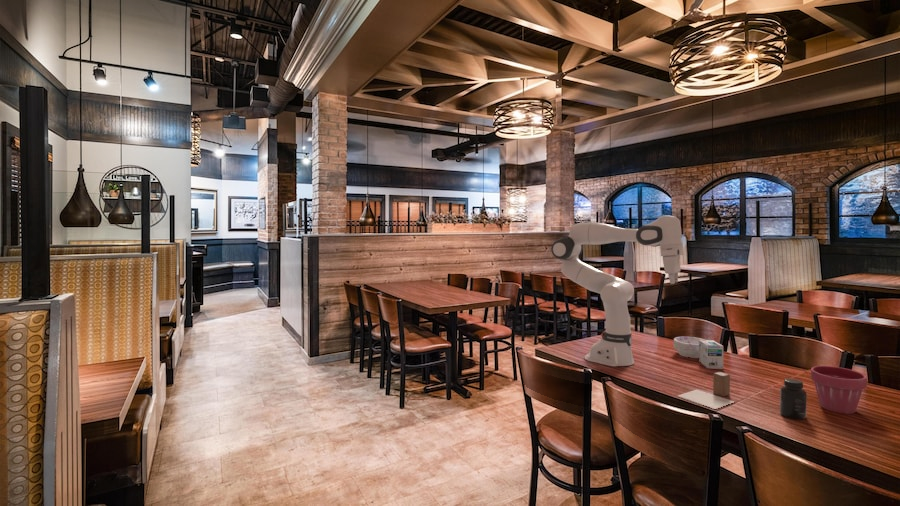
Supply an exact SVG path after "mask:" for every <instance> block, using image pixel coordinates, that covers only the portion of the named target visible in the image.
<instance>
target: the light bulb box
mask: <svg viewBox="0 0 900 506" xmlns="http://www.w3.org/2000/svg"><path fill="white" fill-rule="evenodd" d="M698 359H699V361H698V362H699V363H700V362H701V363H700V364H702V365H703V366H704V367H705V368H706V369H710V370H711V369H713V370H714V369H715V370H724V345H722V344H721V343H719V342H717V341H715V339H714V340H713V339H712V340H711V339H704V340H699V358H698Z"/></svg>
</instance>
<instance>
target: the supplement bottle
mask: <svg viewBox="0 0 900 506" xmlns="http://www.w3.org/2000/svg"><path fill="white" fill-rule="evenodd" d="M783 381H784V383H783V385H784V386H782V387H780V391H779V393H780V395H779V403H780V404H779V412H780V414H781V415H782V416H784V417H785V418H788V419H791V420H796V419H797V420H798V421H802V420H805V419H806V418H807V400H808V399H807V397H808V396H807V391H805V390H804V382H803V381H802V380H800V379H796V378H784V379H783Z"/></svg>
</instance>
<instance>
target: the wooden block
mask: <svg viewBox="0 0 900 506" xmlns="http://www.w3.org/2000/svg"><path fill="white" fill-rule="evenodd" d="M712 375H713V376H712V377H713V378H712V379H713V380H712V382H713V385H712V386H713V387H712V389H713V393H712V394H713V395H716V396H719V397H722V398H724V397H727V395H728V396H730V390H731V389H730V388H731V387H730V386H731V383H730V382H731V380H730V379H731V375H730V374H729V373H725V372H722V371H718V372H714V373H713V374H712Z"/></svg>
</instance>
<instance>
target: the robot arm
mask: <svg viewBox="0 0 900 506" xmlns="http://www.w3.org/2000/svg"><path fill="white" fill-rule="evenodd" d="M680 221H681V220H680V219H679V218H678V217H677V216H674V215H661V216H659V217H658V218H657V219H655V220H654V221H651V222H649V223H647V224H645V225H642V226H640V227H638V228H622V227H618V226H614V225H611V224H607V223H604V222H603V223H602V222H596V221H595V222H594V221H591V222H588V221H587V222H580V223H579V222H578V223H575V224H573V225H571V227H570V229H569V233H568V235H564V236H562V237H560V238H558V239H557V240H555V241H554V242H553V243H552V245H551V249H550V251H551V254H552V255H553V257H554V258H555V259H558V260H561V261H562V262H561V266H560V271H561V273H562V274H563V275H564V276H565V277H566V278H568V280H570V281H572V282H573V283H575V284H577V285H579V286H581V287H582V288H584V289H586V290H588V291H590V292H594V293H597V294H600V295H599V296H600V299H601V301H602V304H603V309H604V315H605V330H603V332H602V333H600V337H601V338H600V339H599V340H598V341H596V342H595V343H593V344H592V345H591V346H590V349H589V353H587V354H586V355H585V356H584V360H585V361H588V362H592V363H595V364H600V365H604V366H608V367H627V366H632V365H634V364H635V359H634V356H633V350H632V343H633V339H632V338H633V337H632V336H633V335H632V332H631V315H630V313H629V308H628V302H629V301H630V300H631V299H632V298H633V297H634V293H635V288H634V285H633V284H632V283H631V282H630V281H627V280H625V279H622V278H619V277H618V276H615V275H613V274H610V273H606V272H604V271H602V270H599V269H597V268H595V267H594V266H591V265H590V264H588V263H585V262H583V261H582V260H581V259H582V253H583V249H584V247H583V245H591V246H592V245H593V246H595V245H596V246H597V245H600V246H601V245H606V244H612V243H617V242H631V243H632V242H634V243H635V242H636V243H638V244H641V245H642V246H645V247H653V248H655V247H659V248H660V249H659V250H660V257H662V263H663V268H664V269H663V270H664V272H665V274H668V279H669V284H670V285H674V284H675V283H676V284H677V283H678V282H679V273H680V272H681V262H680V260H681V256H683V255H684V249H683V248H684V247H683V241H682V235H683V233H682V227H681V222H680Z"/></svg>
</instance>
